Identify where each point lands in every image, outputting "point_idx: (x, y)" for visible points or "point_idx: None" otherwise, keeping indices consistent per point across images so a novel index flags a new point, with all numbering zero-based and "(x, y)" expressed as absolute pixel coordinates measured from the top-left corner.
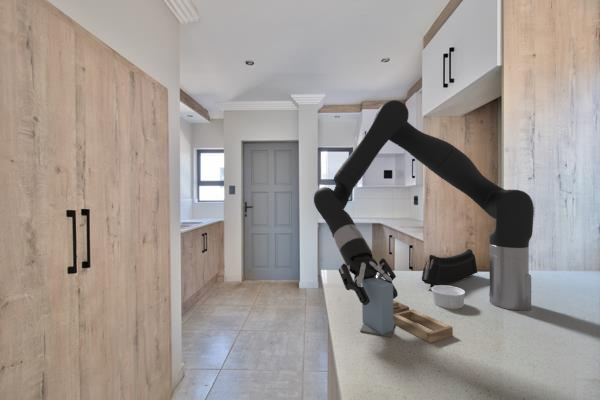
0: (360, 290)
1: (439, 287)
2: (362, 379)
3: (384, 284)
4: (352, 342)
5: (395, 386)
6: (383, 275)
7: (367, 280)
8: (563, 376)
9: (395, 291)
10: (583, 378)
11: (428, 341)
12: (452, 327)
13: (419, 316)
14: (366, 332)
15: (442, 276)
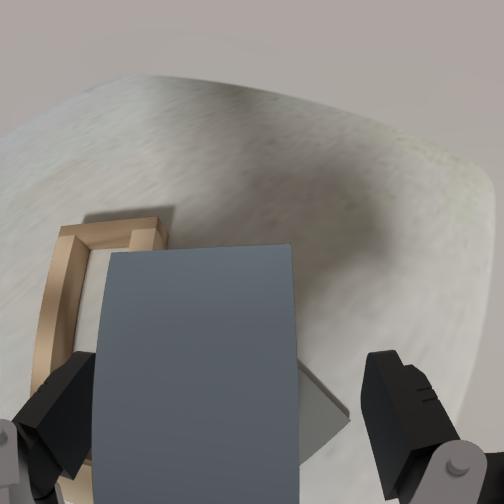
0: (436, 429)
1: None
2: (459, 186)
3: (198, 290)
4: (424, 351)
5: (402, 145)
6: (10, 485)
7: None
8: (102, 96)
9: (69, 364)
10: (90, 92)
11: (166, 238)
12: (62, 227)
13: (55, 347)
14: (330, 401)
15: None
